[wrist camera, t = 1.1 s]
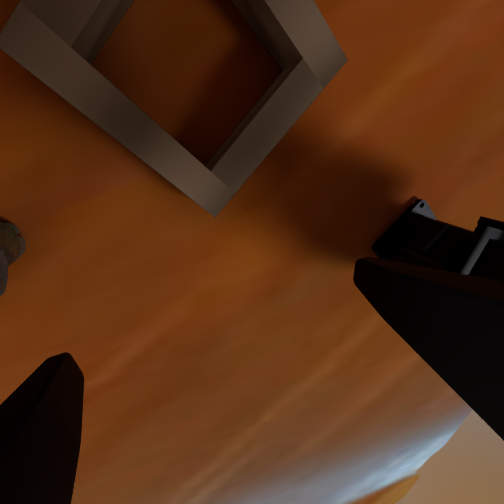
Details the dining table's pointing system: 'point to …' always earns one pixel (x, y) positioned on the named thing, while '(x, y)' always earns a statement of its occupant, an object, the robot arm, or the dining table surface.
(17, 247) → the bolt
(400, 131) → the dining table surface
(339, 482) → the dining table surface
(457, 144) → the dining table surface
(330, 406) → the dining table surface
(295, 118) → the socket block
